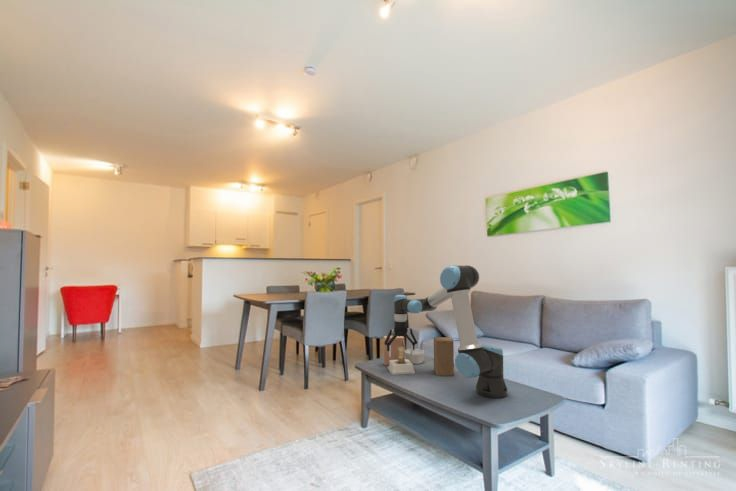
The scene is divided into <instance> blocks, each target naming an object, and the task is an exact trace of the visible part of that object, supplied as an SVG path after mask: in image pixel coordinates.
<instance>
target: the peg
mask: <svg viewBox="0 0 736 491" xmlns="http://www.w3.org/2000/svg"><path fill="white" fill-rule="evenodd" d="M404 351H405V345H404V344H403V345H398V364H404V359H405V353H404Z"/></svg>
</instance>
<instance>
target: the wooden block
mask: <svg viewBox="0 0 736 491" xmlns="http://www.w3.org/2000/svg"><path fill="white" fill-rule="evenodd" d="M454 347H455V346H454V340H453V339H452V338H451V337H450V336H449V337H444V336H443V337H442V336H440V337H439V336H438V337H435V336H434V337H433V370H434V373H435V374H436V376H442V377H443V376H453V377H454V375H455V367H454V366H455V359H454V358H455V357H454V352H455V351H454V350H455V349H454Z"/></svg>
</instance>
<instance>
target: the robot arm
mask: <svg viewBox="0 0 736 491" xmlns="http://www.w3.org/2000/svg"><path fill="white" fill-rule="evenodd" d="M439 281H440V284H441V288H438V290H436V291H435V292H433V293H431V294H430V295H428V296H427V297H425V298H417V299H408V297H407V295H405V294H397V295H395V296H394V298H393V299H394V301H393V303H394V304H393V307H394V315H393V316H394V322H393V323H394V328H389V329H388V334H387V335H386V336H387V338H386V340H385V342H384V341H383V345H384V344H385V345H387V351H389V357H391V346H390V344H391V343H392V342H393V340H394V339H395V338H396V337H397V336H399V337H400V336H403V337H405V338H407V340H408V341H409V342H410V349H411V356H413V350H415V349H416V348H415V345H417V344H418V341H417V339H416V336H415V334H414V333H413V328H411V327H410V328H408V323H407V322H408V321H407V320H408V317H407V316H408V313H410V314H419V313H422V312H433V311H435V310H436V309H437V308H438V306H440V305H442V304H443V303H445V302H447V301H448V300H450V299H451V303H452V309H453V310H452V311H453V314H454V320H455V325H456V331H457V336H458V341H459V346H458V348H457V353H458V354H457V355H456V356H455V359H454V366H455V367H456V369H457V372H458V373H459V374H461V376H463V377H464V378H468V379H472V378H473V379H474V378H477V381H476V384H475V393H477V394H478V395H480V396H481V397H482V396H483V397H484V398H485V397H486V398H491V399H499V398H500V399H501V398H502V399H503V398H505V397H507V396H508V394H509V393H508V387H507V385H506V381H505V378H504V350H503V348H501V347H499V346H495V345H491V344H480V343H479V342H478V340H479V339H478V336H477V331H476V326H475V321H474V315H473V312H472V306H471V302H470V296H469V295H470V294H469V293H470V292H471V291H472V290H471V289H472V288H474V287H475V286H477V285H478V283H479V281H480V273H479V271H478V269H476V267H473V265H472V266H471V265H456V264H455V265H450V266H449V265H448V266H446V267H444V268H443V269H442V271H441V273H440V277H439ZM392 333H393V335H392ZM407 333H409V334H410V336H411V337H409V335H408V334H407ZM390 336H393V337H392V338H391V339H390V341H389V342H388V340H389V338H390ZM411 338H412V339H411ZM387 342H388V343H387Z"/></svg>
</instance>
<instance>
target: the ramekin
mask: <svg viewBox="0 0 736 491" xmlns="http://www.w3.org/2000/svg"><path fill="white" fill-rule="evenodd" d="M404 359H408V360H409V361H410V362H411V363H412V364H413V365H419V364H422V363H424V360H425V351H424V350H422V349H419V348H415V350H413V356H411V348H410V349H409V348H408V349H406V350H405V349H404Z"/></svg>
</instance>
